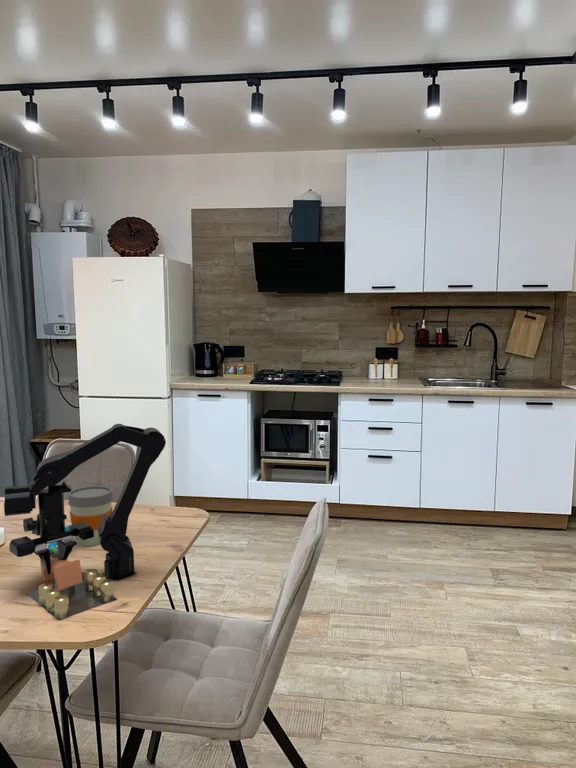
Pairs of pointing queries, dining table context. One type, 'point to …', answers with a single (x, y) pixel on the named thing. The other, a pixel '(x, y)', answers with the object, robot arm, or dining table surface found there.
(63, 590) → the nut
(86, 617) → the dining table surface
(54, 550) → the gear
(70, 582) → the copper l-bar
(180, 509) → the dining table surface
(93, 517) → the reusable coffee cup
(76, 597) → the plate
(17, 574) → the dining table surface
